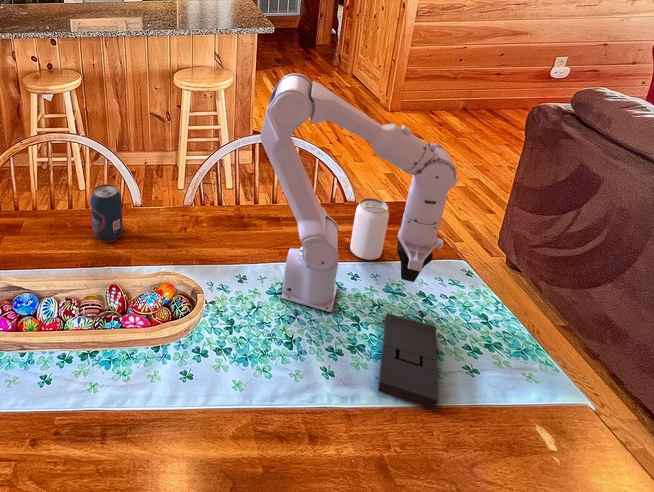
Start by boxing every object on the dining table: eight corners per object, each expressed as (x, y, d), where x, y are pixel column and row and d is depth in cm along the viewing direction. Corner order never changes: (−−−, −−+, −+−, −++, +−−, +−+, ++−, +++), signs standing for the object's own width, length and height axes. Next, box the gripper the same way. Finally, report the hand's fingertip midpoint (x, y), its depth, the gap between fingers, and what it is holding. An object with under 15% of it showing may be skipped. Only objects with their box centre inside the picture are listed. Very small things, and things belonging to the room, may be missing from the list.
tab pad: (381, 362, 84) (383, 353, 84) (384, 321, 93) (386, 312, 92) (434, 378, 81) (437, 369, 80) (433, 334, 90) (436, 326, 89)
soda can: (87, 234, 119) (83, 190, 114) (111, 222, 123) (108, 179, 118) (105, 247, 114) (102, 202, 109) (129, 234, 119) (127, 190, 114)
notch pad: (378, 390, 80) (380, 381, 79) (381, 353, 86) (383, 344, 85) (435, 409, 76) (437, 400, 76) (434, 369, 83) (436, 360, 82)
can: (383, 262, 108) (393, 214, 103) (351, 259, 109) (359, 212, 104) (378, 244, 113) (387, 198, 108) (347, 241, 114) (355, 195, 110)
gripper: (450, 244, 79) (432, 311, 84) (447, 199, 91) (432, 261, 96) (401, 233, 82) (386, 299, 87) (404, 191, 93) (391, 251, 99)
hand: (407, 278), depth 92 cm, fingers closed
